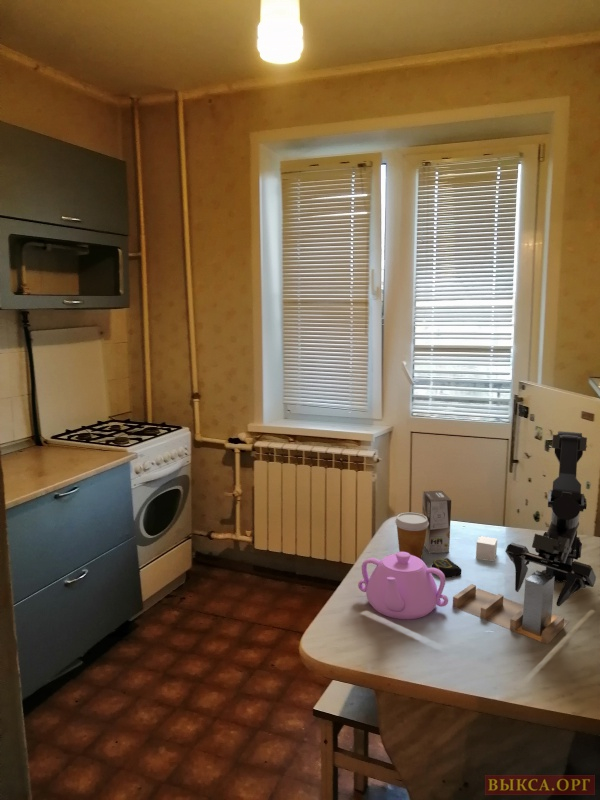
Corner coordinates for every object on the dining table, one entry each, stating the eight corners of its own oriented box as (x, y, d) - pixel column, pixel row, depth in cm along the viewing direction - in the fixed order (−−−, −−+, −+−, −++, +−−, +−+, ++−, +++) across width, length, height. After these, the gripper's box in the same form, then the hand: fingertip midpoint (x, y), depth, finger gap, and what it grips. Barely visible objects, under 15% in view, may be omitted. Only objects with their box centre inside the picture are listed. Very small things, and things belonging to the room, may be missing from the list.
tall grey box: (533, 619, 140) (536, 570, 138) (550, 625, 137) (554, 576, 135) (522, 629, 136) (525, 579, 134) (539, 636, 133) (543, 585, 131)
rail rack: (477, 591, 155) (478, 579, 155) (569, 625, 140) (570, 611, 139) (452, 610, 146) (453, 596, 146) (546, 648, 131) (548, 633, 130)
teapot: (341, 625, 140) (342, 569, 138) (367, 583, 160) (368, 534, 157) (438, 645, 132) (441, 586, 130) (452, 599, 152) (454, 546, 149)
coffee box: (450, 552, 179) (452, 500, 176) (428, 553, 178) (430, 501, 175) (440, 540, 188) (442, 490, 185) (420, 540, 187) (421, 490, 184)
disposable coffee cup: (432, 555, 177) (434, 515, 175) (420, 567, 169) (421, 526, 167) (401, 547, 182) (403, 509, 180) (388, 559, 174) (389, 519, 172)
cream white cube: (478, 551, 179) (479, 535, 179) (496, 554, 177) (497, 538, 176) (475, 558, 175) (476, 542, 174) (493, 561, 173) (494, 545, 172)
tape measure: (462, 579, 162) (463, 566, 162) (439, 583, 160) (440, 570, 160) (448, 568, 169) (449, 556, 168) (426, 572, 167) (427, 559, 166)
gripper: (511, 509, 142) (486, 569, 136) (595, 531, 129) (572, 598, 123) (524, 531, 149) (500, 589, 143) (605, 554, 136) (583, 619, 130)
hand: (536, 598), depth 134 cm, fingers open, 9 cm apart
